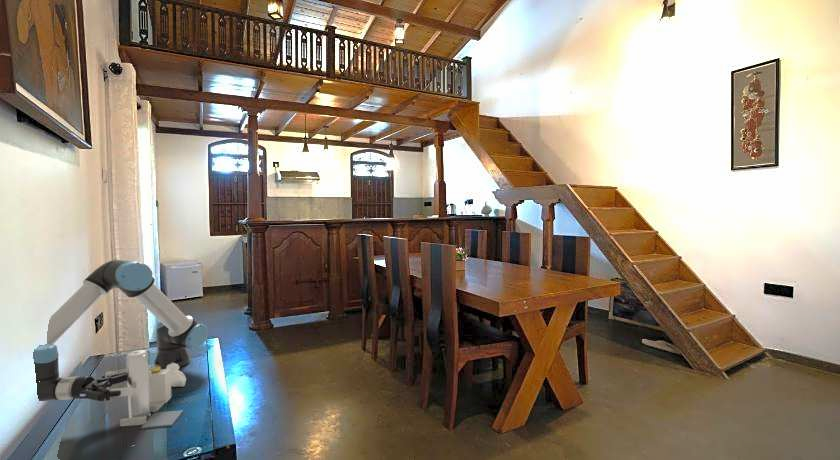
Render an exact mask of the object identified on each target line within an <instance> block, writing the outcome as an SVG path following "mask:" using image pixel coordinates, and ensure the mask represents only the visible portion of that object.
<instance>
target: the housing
mask: <svg viewBox="0 0 840 460" xmlns="http://www.w3.org/2000/svg"><path fill="white" fill-rule="evenodd" d="M149 371H150V369H149ZM151 375H152V378H151V379H149V391H150V413H156V412H159V410H160V409H161V408H162V406H163V405H165V404H167V403H168V402H169V401H170V399H171V398H172V386H171V372H170V369H161V370H160V371H159V372H157V373H151ZM146 421H147V419H146V416H145V417H133V418H129V417H126V418H121V419H119V423H120V426H121V427H129V426H140V425H143V424H144V423H145V422H146ZM120 426H119V427H120Z"/></svg>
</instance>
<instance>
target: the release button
mask: <svg viewBox="0 0 840 460" xmlns="http://www.w3.org/2000/svg"><path fill="white" fill-rule="evenodd" d="M149 370H150V371H151V373H157V372H159V371H160V370H161V367H160V366H159V365H157V366H154V365H152V366H150V367H149Z"/></svg>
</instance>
